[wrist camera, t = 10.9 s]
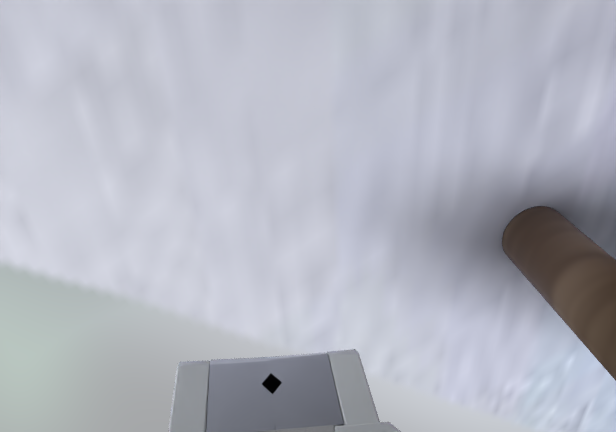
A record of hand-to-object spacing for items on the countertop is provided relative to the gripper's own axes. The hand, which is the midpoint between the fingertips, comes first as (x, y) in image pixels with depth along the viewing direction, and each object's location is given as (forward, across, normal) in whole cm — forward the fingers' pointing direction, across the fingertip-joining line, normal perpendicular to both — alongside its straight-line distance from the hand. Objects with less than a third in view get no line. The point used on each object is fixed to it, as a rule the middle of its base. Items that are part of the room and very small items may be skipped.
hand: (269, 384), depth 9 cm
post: (+14, -13, +5) cm, 20 cm away
